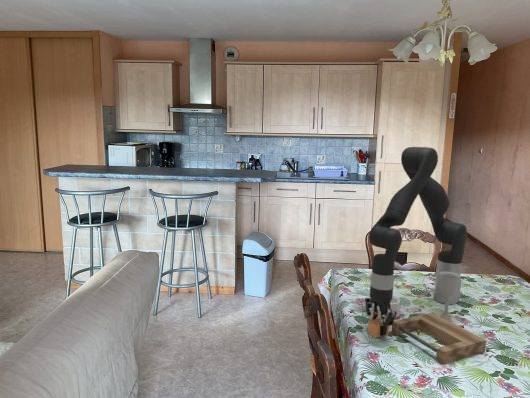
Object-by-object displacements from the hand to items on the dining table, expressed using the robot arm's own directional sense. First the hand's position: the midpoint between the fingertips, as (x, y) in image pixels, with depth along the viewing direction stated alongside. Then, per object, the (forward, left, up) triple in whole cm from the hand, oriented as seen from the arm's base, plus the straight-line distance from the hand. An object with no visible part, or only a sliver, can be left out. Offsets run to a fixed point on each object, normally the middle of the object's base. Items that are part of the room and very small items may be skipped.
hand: (378, 331), depth 144 cm
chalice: (-30, +2, -1) cm, 30 cm away
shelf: (-15, +12, -1) cm, 19 cm away
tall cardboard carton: (0, 0, -1) cm, 1 cm away
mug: (-15, -12, -1) cm, 19 cm away
